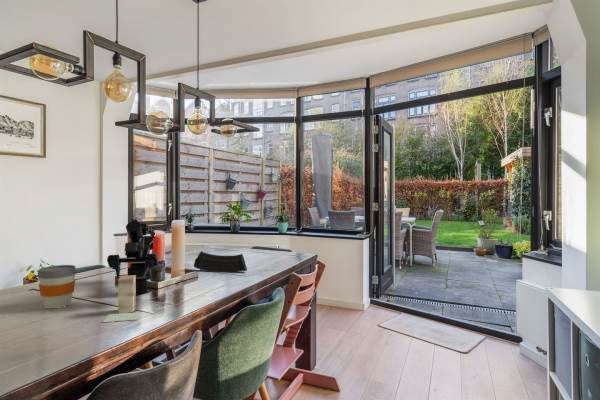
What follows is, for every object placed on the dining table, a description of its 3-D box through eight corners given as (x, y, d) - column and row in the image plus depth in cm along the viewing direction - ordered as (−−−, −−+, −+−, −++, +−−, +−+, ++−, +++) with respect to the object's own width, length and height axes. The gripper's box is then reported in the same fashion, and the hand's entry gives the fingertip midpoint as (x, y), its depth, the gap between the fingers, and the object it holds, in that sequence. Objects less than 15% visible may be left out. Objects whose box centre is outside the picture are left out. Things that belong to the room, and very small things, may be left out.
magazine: (251, 256, 202) (203, 239, 206) (249, 257, 199) (200, 240, 203) (242, 284, 203) (194, 267, 207) (241, 286, 200) (192, 268, 204)
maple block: (121, 309, 136) (121, 276, 136) (135, 308, 137) (135, 275, 137) (118, 313, 131) (118, 279, 131) (132, 312, 132) (132, 278, 132)
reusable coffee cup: (33, 312, 132) (33, 272, 131) (43, 302, 143) (42, 266, 143) (73, 308, 137) (72, 269, 136) (78, 299, 148) (78, 263, 148)
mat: (108, 315, 129) (108, 314, 129) (141, 312, 132) (141, 311, 132) (102, 322, 121) (102, 321, 121) (136, 320, 124) (136, 319, 124)
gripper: (108, 235, 142) (100, 267, 132) (157, 234, 147) (153, 265, 136) (113, 251, 150) (106, 283, 139) (159, 250, 154) (156, 280, 144)
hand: (130, 278), depth 139 cm, fingers open, 9 cm apart
